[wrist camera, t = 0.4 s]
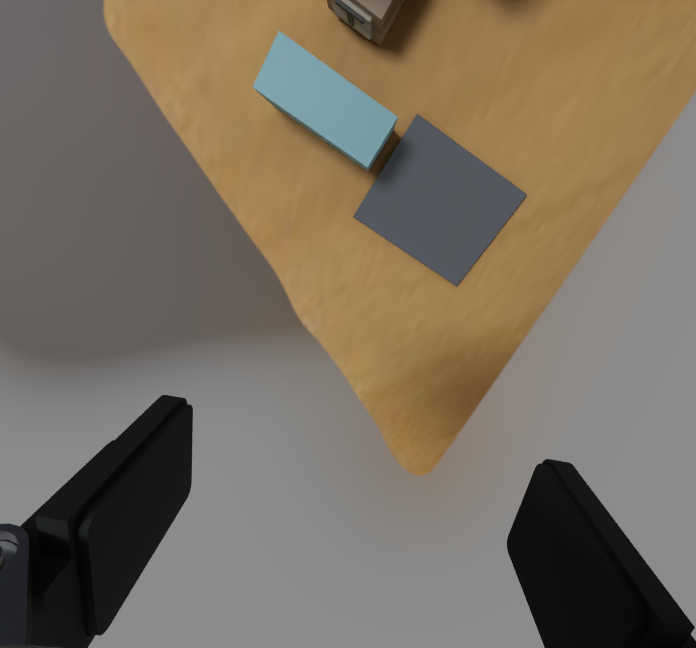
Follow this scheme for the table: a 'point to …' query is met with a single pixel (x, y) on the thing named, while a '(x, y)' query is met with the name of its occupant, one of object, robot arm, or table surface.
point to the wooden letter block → (368, 15)
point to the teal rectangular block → (324, 102)
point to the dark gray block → (438, 201)
